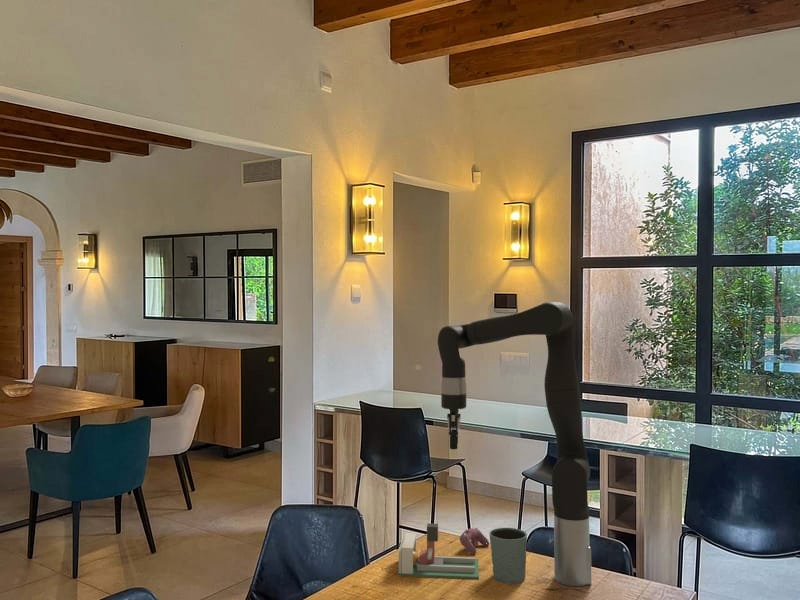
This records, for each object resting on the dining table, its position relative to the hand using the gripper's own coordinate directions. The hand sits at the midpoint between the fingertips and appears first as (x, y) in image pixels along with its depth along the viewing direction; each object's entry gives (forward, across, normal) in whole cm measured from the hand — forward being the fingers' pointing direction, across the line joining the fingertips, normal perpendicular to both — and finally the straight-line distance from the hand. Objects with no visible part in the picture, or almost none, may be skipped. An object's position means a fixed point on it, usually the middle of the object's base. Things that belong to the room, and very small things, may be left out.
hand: (454, 446), depth 197 cm
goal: (+32, -12, +12) cm, 36 cm away
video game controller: (+32, +5, -6) cm, 33 cm away
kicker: (+32, -12, +6) cm, 35 cm away
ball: (+30, -12, +12) cm, 34 cm away
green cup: (+32, -16, -15) cm, 39 cm away
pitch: (+32, -12, +4) cm, 34 cm away
